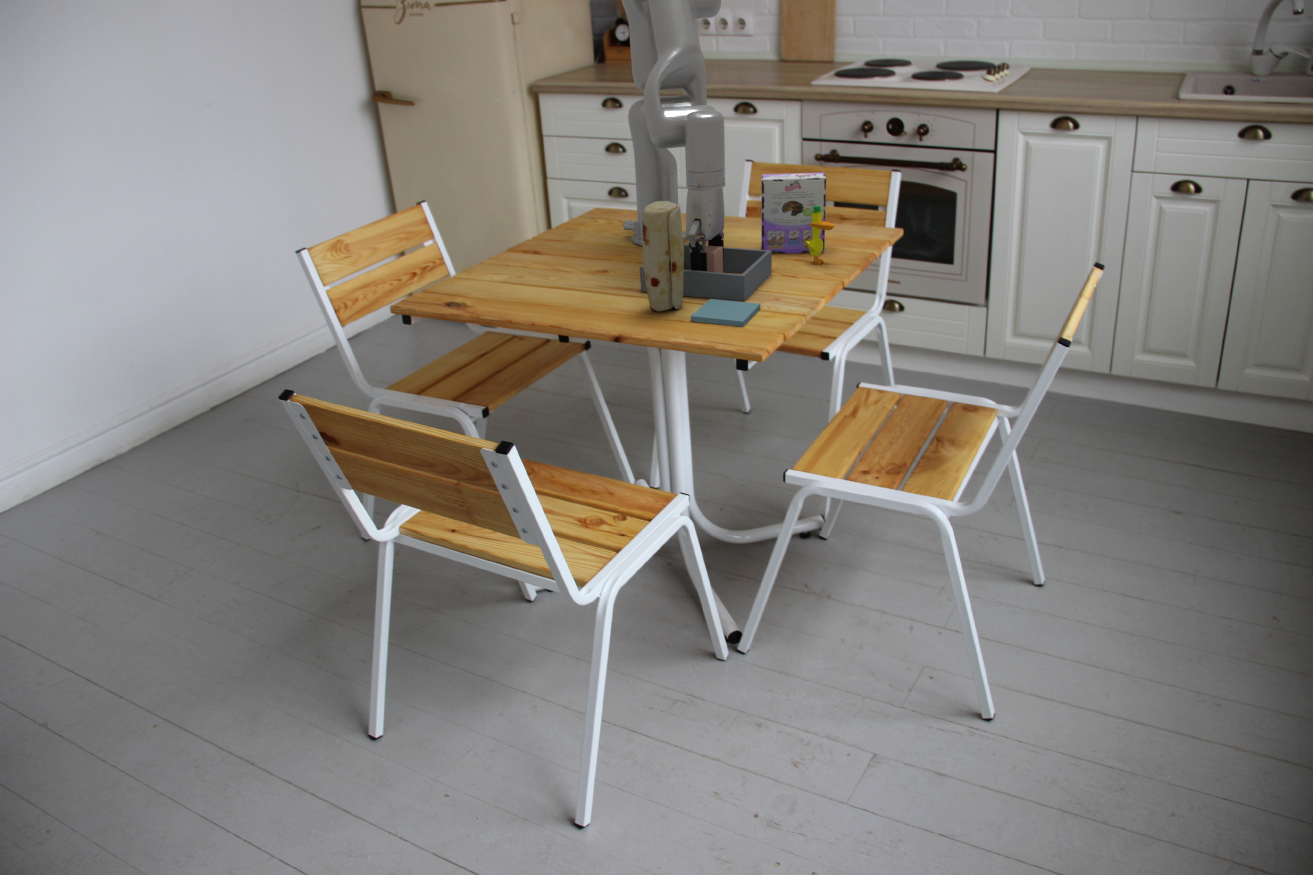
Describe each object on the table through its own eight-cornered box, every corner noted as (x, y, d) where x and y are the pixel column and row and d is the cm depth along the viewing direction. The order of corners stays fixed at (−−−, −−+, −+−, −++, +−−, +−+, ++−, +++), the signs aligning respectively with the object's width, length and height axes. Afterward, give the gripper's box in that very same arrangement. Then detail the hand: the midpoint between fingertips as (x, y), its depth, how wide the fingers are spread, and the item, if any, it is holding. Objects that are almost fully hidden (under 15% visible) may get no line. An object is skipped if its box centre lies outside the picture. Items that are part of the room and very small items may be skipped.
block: (691, 285, 196) (690, 251, 193) (700, 278, 200) (699, 245, 197) (714, 288, 194) (714, 253, 191) (723, 280, 198) (722, 246, 195)
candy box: (822, 246, 217) (825, 171, 210) (824, 253, 212) (827, 177, 204) (760, 247, 218) (761, 173, 211) (760, 254, 213) (761, 178, 206)
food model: (664, 297, 189) (660, 195, 180) (694, 302, 186) (691, 198, 177) (636, 313, 182) (631, 206, 173) (667, 318, 179) (662, 210, 170)
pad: (690, 321, 177) (690, 316, 177) (709, 303, 185) (709, 298, 185) (743, 326, 173) (743, 321, 173) (760, 308, 181) (760, 303, 181)
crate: (640, 291, 194) (639, 267, 191) (674, 266, 208) (673, 243, 206) (744, 301, 186) (744, 276, 183) (771, 274, 200) (771, 250, 198)
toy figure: (836, 263, 205) (839, 206, 199) (827, 267, 202) (829, 210, 197) (809, 258, 209) (811, 202, 203) (800, 262, 206) (801, 206, 201)
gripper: (703, 169, 196) (705, 253, 203) (670, 187, 181) (674, 276, 189) (738, 170, 193) (739, 255, 200) (708, 188, 179) (710, 278, 186)
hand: (707, 265), depth 195 cm, fingers open, 9 cm apart
